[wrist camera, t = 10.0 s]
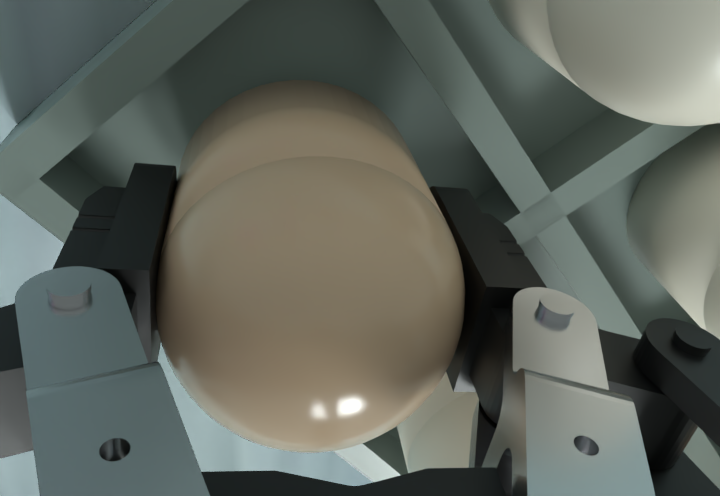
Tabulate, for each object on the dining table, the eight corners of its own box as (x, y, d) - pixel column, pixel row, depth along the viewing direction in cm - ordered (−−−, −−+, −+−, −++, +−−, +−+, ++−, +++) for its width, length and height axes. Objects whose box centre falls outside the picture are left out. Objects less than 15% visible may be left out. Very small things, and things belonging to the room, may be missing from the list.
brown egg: (457, 204, 14) (570, 405, 9) (285, 325, 15) (303, 562, 10) (316, 25, 12) (367, 164, 7) (123, 185, 13) (42, 409, 8)
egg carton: (914, 346, 23) (1137, 518, 17) (519, 552, 27) (592, 750, 21) (703, -486, 10) (1264, -890, 5) (16, 125, 14) (-148, 322, 8)
